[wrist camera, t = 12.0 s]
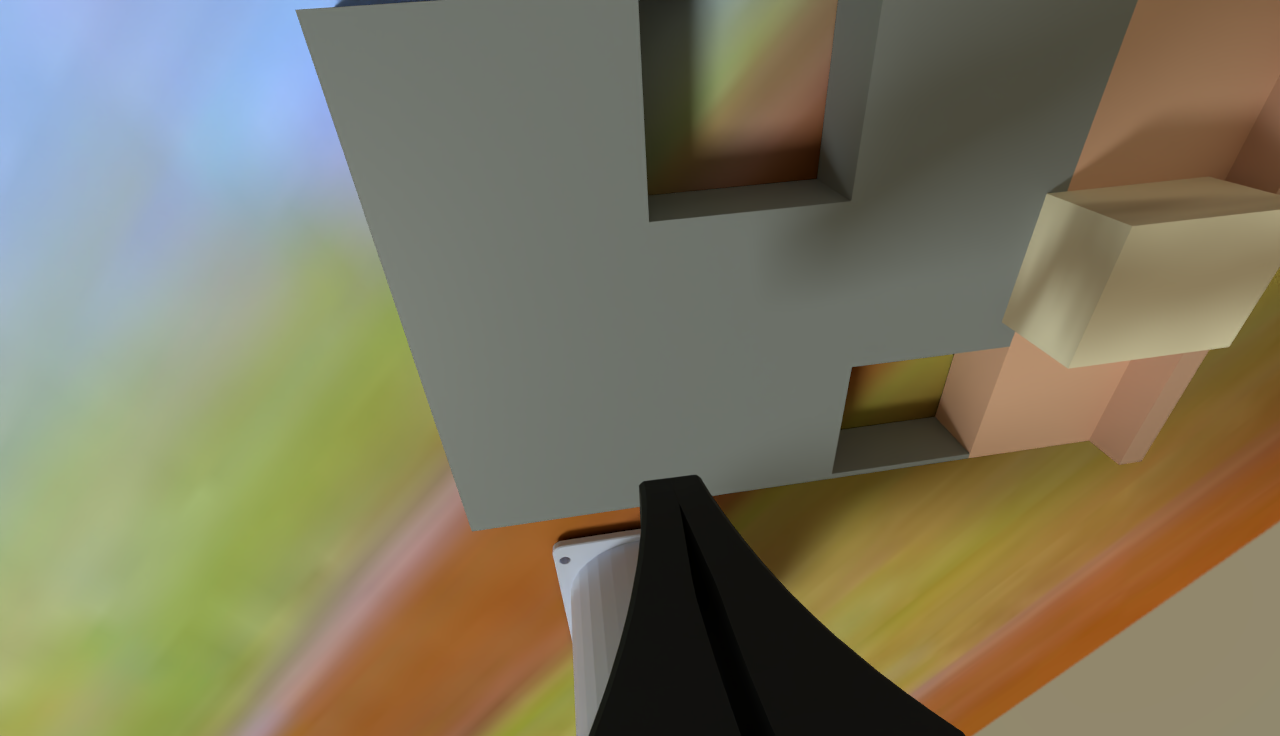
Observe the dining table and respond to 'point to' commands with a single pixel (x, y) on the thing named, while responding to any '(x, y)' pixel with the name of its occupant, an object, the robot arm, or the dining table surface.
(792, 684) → the robot arm
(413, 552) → the dining table surface
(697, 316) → the board
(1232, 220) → the beech block
